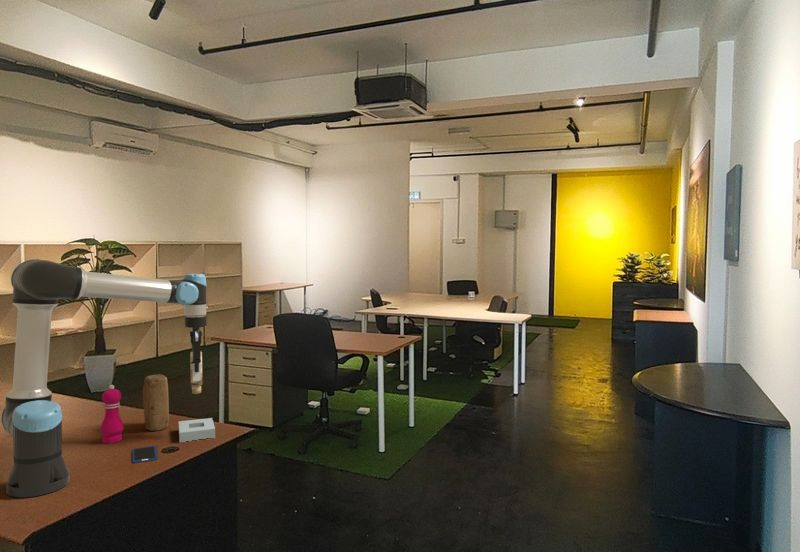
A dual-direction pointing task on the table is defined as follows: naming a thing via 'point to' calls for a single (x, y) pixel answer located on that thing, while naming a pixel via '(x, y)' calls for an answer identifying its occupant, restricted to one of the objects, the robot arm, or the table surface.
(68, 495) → the table surface
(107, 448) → the table surface
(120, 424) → the pepper mill
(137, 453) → the cell phone
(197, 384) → the peg
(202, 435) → the board
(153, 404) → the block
